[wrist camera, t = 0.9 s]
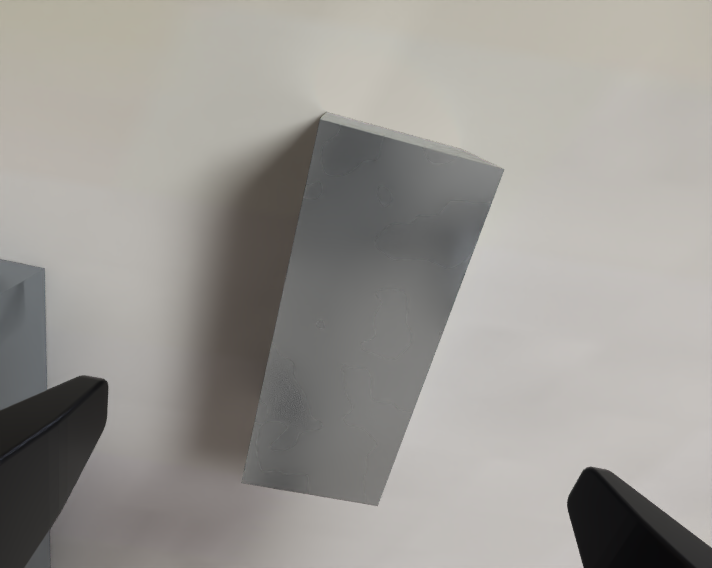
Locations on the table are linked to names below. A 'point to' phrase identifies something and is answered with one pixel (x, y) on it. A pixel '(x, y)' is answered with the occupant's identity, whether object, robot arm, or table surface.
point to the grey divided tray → (23, 349)
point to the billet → (364, 305)
